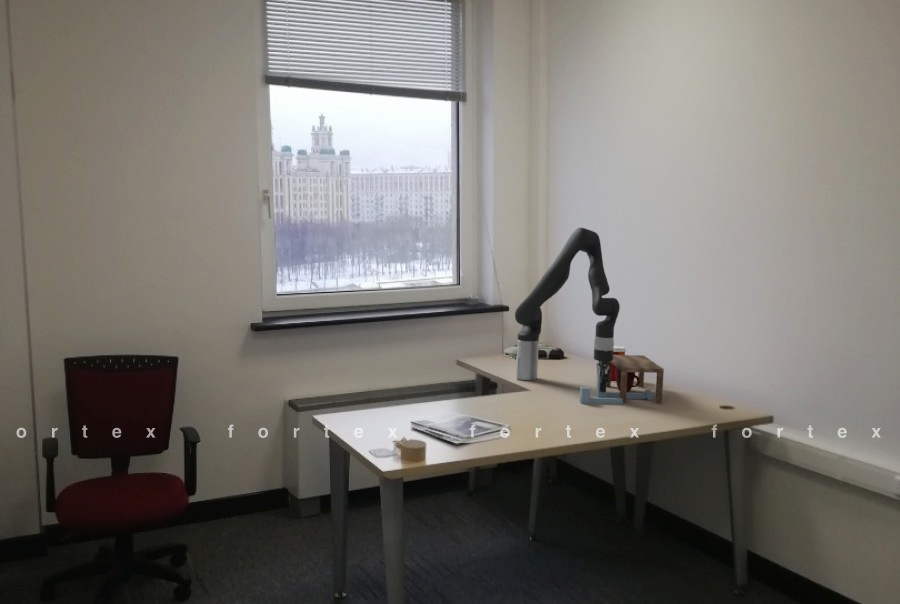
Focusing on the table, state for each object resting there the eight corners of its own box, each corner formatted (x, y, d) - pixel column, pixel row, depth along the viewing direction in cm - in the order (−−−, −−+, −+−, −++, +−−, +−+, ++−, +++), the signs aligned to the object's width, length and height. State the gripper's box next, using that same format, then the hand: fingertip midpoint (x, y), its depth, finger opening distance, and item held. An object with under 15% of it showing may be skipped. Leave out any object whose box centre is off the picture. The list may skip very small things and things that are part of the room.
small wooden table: (620, 402, 304) (622, 368, 303) (604, 385, 334) (606, 354, 332) (661, 403, 304) (663, 369, 303) (642, 386, 334) (643, 355, 333)
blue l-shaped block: (581, 403, 300) (581, 388, 300) (579, 401, 303) (580, 386, 303) (622, 404, 300) (623, 389, 300) (621, 402, 304) (621, 387, 303)
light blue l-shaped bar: (598, 398, 309) (599, 373, 308) (595, 395, 314) (596, 371, 313) (652, 400, 309) (654, 375, 308) (649, 397, 314) (650, 372, 313)
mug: (642, 392, 324) (644, 368, 322) (636, 395, 317) (637, 371, 316) (618, 388, 329) (619, 365, 328) (611, 391, 322) (612, 368, 321)
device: (526, 349, 426) (526, 340, 426) (573, 354, 413) (573, 345, 412) (499, 358, 398) (499, 348, 397) (549, 364, 384) (549, 354, 384)
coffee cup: (626, 382, 342) (627, 348, 340) (607, 382, 342) (608, 348, 340) (622, 378, 350) (624, 345, 348) (603, 378, 350) (605, 345, 348)
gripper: (591, 345, 317) (589, 386, 318) (597, 350, 303) (595, 394, 304) (609, 345, 317) (607, 387, 319) (617, 351, 303) (614, 395, 304)
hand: (601, 390), depth 311 cm, fingers closed on light blue l-shaped bar, 3 cm apart
